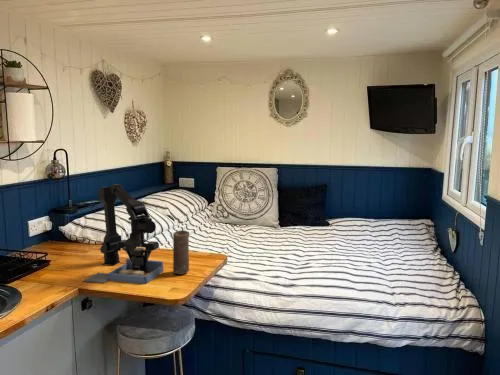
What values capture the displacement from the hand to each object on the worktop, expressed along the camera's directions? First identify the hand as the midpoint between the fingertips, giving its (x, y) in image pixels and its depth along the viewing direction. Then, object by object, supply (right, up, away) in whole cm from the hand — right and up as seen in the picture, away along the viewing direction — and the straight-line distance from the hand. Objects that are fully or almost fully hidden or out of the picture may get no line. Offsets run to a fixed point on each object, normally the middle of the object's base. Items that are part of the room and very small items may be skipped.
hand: (139, 262), depth 179 cm
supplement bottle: (0, -6, +1) cm, 6 cm away
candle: (+20, -6, +1) cm, 21 cm away
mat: (-16, -6, -5) cm, 18 cm away
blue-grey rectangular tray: (0, -6, -1) cm, 6 cm away
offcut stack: (-2, -7, -6) cm, 9 cm away
